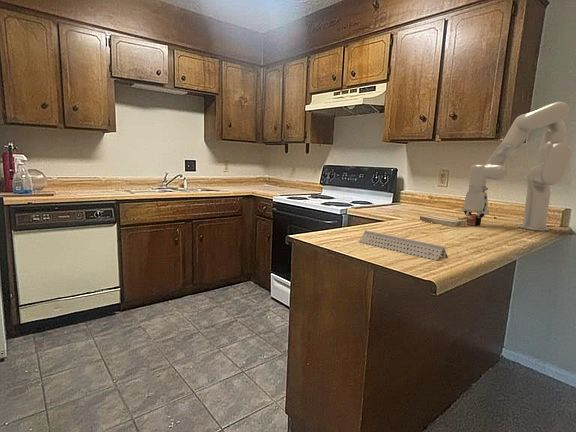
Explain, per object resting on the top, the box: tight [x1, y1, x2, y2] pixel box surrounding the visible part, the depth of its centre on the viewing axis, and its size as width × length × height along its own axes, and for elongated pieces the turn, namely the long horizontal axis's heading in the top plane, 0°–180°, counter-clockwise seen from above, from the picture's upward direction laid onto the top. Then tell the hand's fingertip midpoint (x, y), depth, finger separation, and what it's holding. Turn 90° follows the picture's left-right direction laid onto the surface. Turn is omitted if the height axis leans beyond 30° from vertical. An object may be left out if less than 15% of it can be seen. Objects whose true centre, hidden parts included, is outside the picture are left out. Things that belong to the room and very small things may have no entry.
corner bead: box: [358, 230, 449, 262], centre depth 124 cm, size 31×9×5 cm, turn 40°
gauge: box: [457, 213, 477, 227], centre depth 179 cm, size 15×4×6 cm, turn 122°
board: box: [419, 214, 467, 228], centre depth 186 cm, size 10×20×3 cm, turn 32°
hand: (473, 224), depth 182 cm, fingers closed on gauge, 4 cm apart
